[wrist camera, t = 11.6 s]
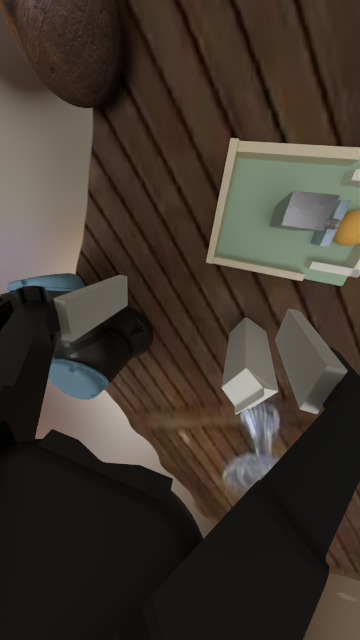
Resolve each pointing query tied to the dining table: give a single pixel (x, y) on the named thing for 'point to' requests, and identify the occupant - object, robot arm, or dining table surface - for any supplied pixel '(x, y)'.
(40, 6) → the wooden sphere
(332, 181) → the pitch
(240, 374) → the milk
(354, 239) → the ball
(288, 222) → the kicker rod
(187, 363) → the dining table surface
